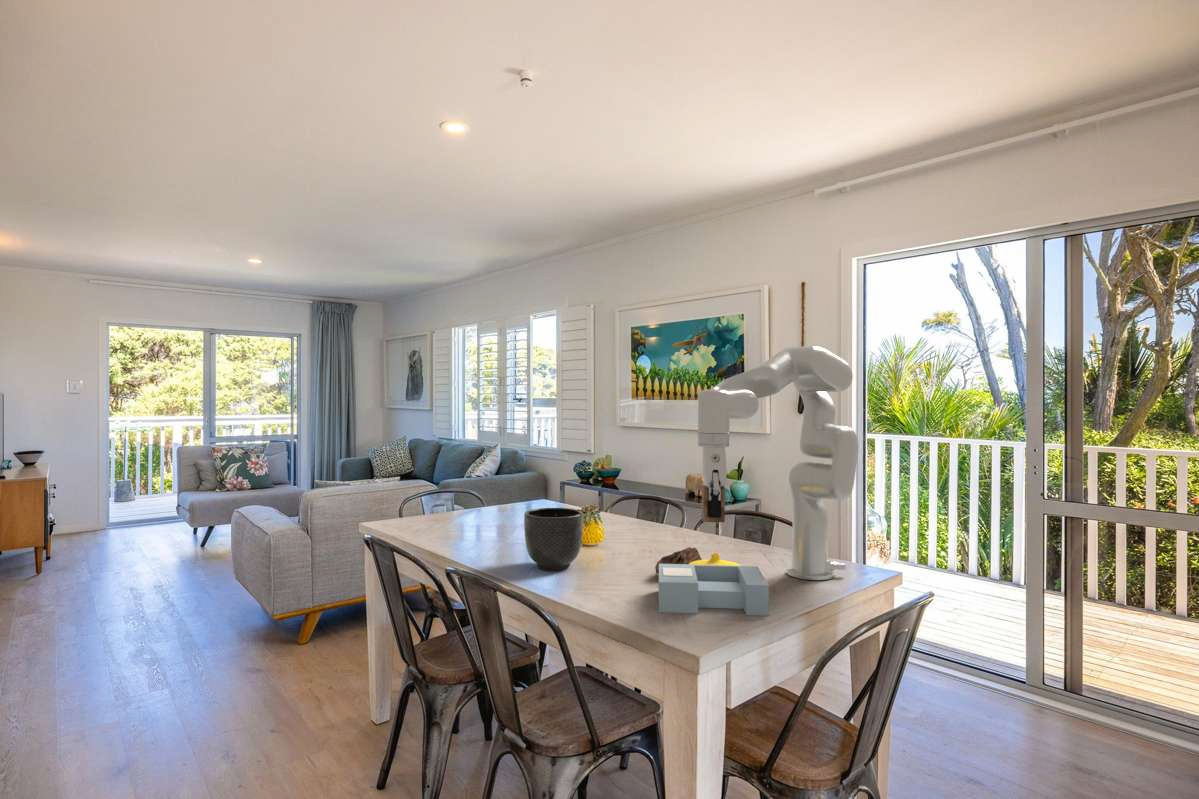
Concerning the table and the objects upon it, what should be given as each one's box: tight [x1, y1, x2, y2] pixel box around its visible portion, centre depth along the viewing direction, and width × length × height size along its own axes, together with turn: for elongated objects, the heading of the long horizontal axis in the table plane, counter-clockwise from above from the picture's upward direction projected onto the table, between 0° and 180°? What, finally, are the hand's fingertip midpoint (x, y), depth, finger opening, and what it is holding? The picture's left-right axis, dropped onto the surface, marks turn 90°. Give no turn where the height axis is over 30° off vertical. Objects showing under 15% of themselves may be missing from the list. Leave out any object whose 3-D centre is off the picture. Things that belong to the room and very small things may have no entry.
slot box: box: [658, 564, 770, 617], centre depth 161 cm, size 25×17×7 cm
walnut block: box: [701, 485, 726, 523], centre depth 161 cm, size 5×5×8 cm
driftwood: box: [654, 546, 703, 575], centre depth 189 cm, size 23×8×8 cm, turn 157°
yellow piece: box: [690, 552, 742, 566], centre depth 182 cm, size 16×16×7 cm
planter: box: [523, 507, 584, 572], centre depth 194 cm, size 17×17×16 cm
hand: (713, 514), depth 161 cm, fingers closed on walnut block, 5 cm apart
